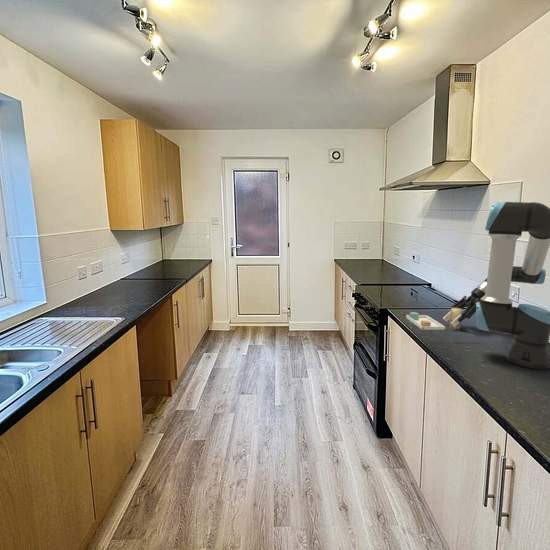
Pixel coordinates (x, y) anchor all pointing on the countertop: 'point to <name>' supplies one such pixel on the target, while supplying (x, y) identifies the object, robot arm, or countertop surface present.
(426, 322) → the terracotta block
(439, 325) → the parts tray
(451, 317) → the turned wooden pepper mill
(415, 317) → the teal block
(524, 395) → the countertop surface
